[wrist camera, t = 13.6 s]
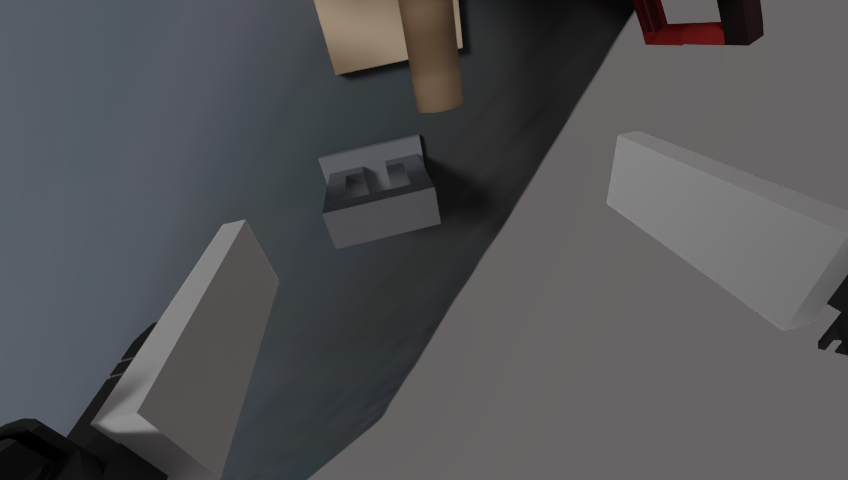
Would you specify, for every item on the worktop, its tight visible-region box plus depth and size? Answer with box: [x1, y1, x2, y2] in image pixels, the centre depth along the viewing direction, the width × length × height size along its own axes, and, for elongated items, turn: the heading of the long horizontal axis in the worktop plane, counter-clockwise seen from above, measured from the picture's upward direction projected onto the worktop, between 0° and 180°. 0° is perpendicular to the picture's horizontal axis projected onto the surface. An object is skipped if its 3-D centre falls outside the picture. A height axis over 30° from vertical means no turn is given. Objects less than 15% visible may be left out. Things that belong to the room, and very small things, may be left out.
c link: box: [322, 154, 441, 249], centre depth 27 cm, size 8×3×8 cm, turn 100°
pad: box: [318, 134, 425, 193], centre depth 31 cm, size 6×9×1 cm, turn 100°
